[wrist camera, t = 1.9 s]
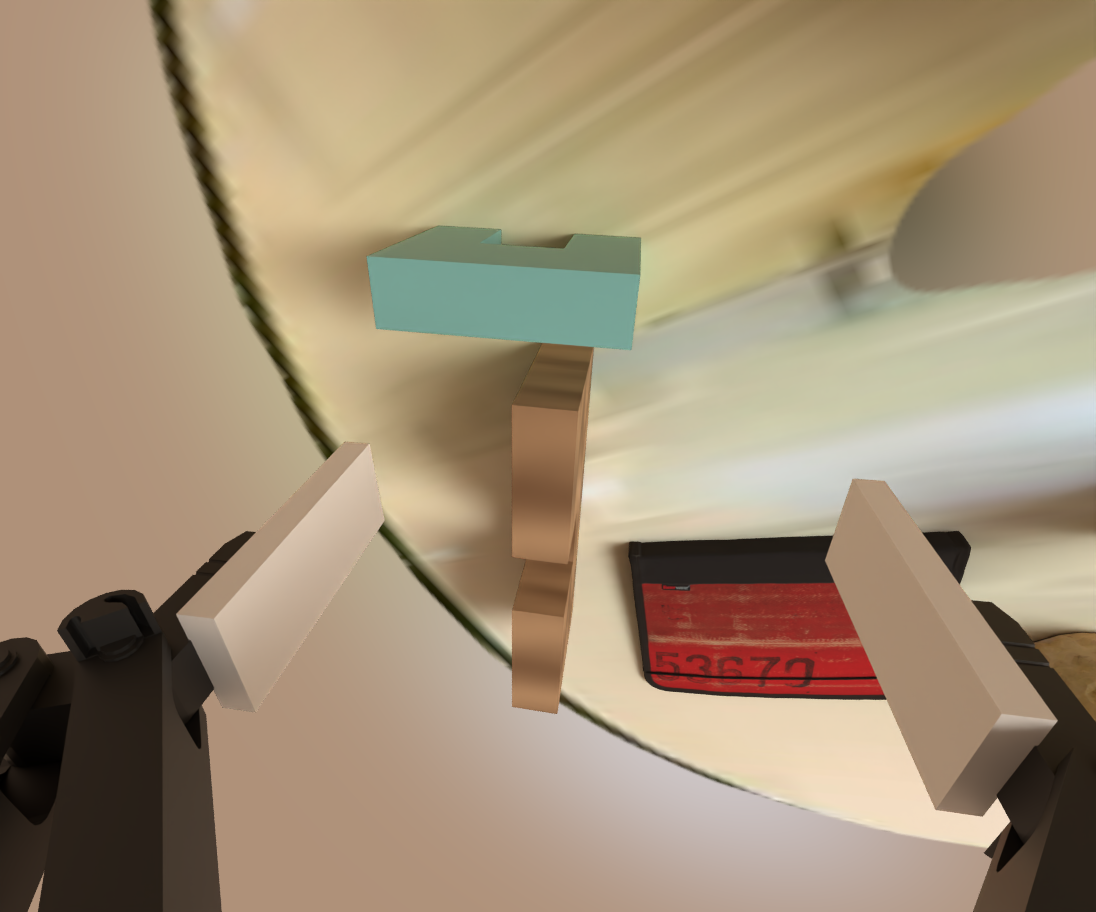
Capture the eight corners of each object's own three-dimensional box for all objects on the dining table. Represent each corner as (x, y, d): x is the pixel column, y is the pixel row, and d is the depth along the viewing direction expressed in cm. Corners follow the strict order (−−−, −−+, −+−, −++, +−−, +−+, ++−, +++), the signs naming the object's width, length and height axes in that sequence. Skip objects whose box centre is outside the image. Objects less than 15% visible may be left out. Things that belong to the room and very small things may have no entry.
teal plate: (442, 281, 31) (376, 328, 23) (438, 225, 29) (366, 256, 22) (634, 295, 30) (631, 350, 22) (640, 237, 28) (640, 274, 20)
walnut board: (543, 340, 32) (511, 404, 24) (593, 344, 31) (578, 411, 24) (535, 605, 43) (512, 706, 35) (572, 610, 43) (557, 713, 35)
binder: (627, 559, 37) (976, 548, 32) (628, 536, 39) (957, 523, 34) (645, 699, 45) (925, 706, 41) (645, 675, 47) (912, 679, 43)
